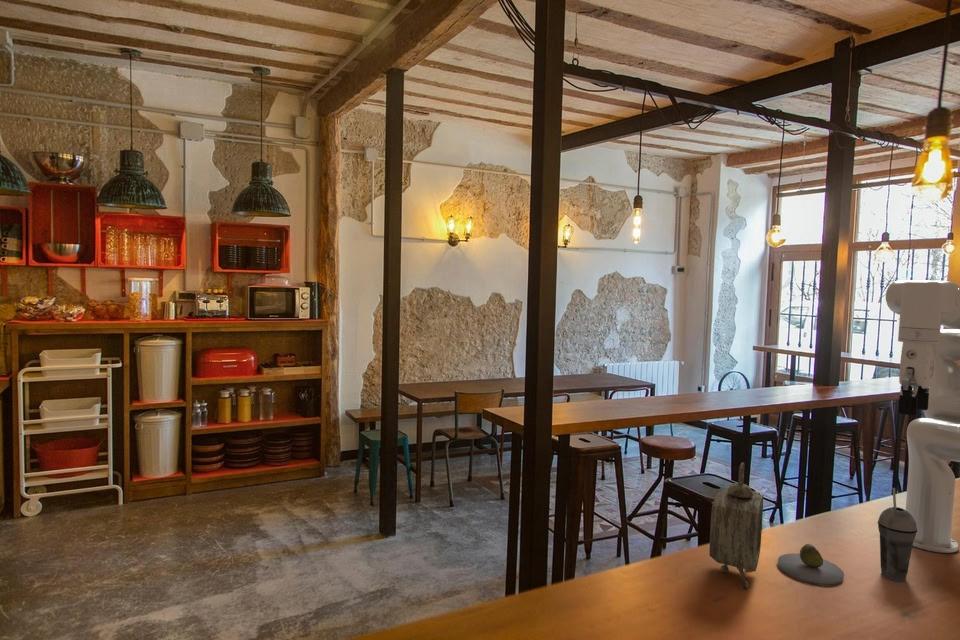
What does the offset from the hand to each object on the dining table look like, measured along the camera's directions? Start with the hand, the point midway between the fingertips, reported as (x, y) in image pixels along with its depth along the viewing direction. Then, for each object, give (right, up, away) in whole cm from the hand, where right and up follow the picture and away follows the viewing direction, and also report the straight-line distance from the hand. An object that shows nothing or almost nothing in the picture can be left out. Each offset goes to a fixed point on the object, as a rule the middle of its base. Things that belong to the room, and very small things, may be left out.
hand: (913, 411), depth 135 cm
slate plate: (-23, -36, 0) cm, 43 cm away
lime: (-23, -35, 0) cm, 42 cm away
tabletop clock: (-42, -36, -3) cm, 55 cm away
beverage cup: (-6, -37, -2) cm, 37 cm away
